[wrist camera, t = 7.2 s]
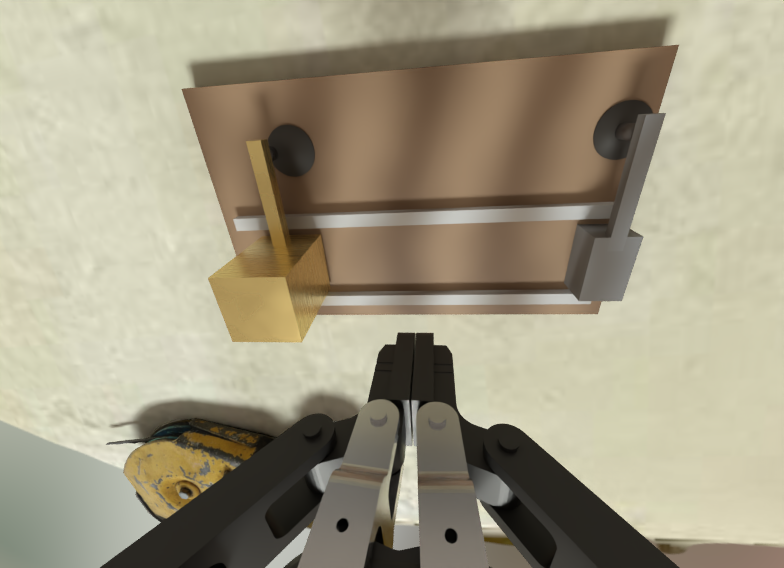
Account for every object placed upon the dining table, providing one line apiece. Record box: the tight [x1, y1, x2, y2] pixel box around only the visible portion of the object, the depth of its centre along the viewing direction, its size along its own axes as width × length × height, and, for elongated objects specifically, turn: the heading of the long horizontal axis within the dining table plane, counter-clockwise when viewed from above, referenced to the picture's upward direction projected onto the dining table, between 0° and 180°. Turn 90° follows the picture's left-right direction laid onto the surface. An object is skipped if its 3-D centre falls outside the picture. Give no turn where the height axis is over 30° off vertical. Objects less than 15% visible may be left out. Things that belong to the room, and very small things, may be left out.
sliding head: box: [208, 139, 331, 342], centre depth 18 cm, size 4×10×6 cm, turn 4°
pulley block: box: [106, 418, 276, 522], centre depth 34 cm, size 14×6×30 cm
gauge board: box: [182, 45, 679, 315], centre depth 19 cm, size 25×15×4 cm, turn 94°
